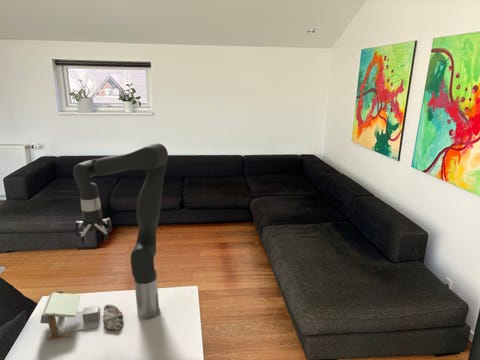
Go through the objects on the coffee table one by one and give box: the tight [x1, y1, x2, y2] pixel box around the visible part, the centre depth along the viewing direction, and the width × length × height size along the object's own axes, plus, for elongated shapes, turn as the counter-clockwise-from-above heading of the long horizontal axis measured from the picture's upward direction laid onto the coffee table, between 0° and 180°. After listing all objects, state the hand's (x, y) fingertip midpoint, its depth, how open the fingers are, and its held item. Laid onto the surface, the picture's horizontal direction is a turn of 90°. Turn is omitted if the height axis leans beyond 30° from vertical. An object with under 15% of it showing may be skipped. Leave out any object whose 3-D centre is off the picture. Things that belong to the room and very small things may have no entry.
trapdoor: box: [39, 291, 82, 325], centre depth 142 cm, size 12×14×5 cm
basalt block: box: [82, 305, 101, 324], centre depth 147 cm, size 4×4×6 cm
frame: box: [47, 289, 72, 342], centre depth 143 cm, size 8×18×12 cm, turn 16°
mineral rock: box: [102, 303, 124, 331], centre depth 146 cm, size 15×8×4 cm, turn 17°
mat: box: [62, 308, 101, 334], centre depth 147 cm, size 13×12×1 cm
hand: (95, 242), depth 151 cm, fingers open, 8 cm apart
